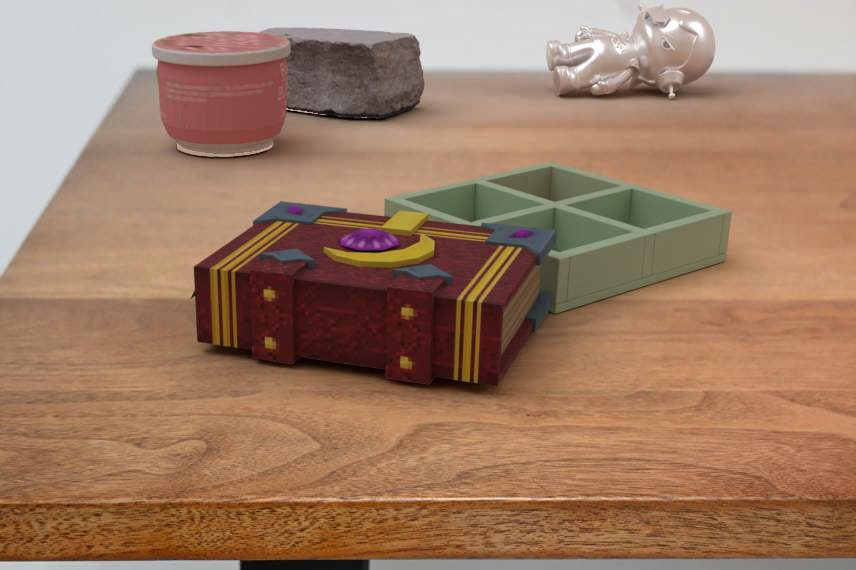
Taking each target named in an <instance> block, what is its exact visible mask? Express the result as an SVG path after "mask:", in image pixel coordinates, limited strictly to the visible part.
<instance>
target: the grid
mask: <svg viewBox="0 0 856 570" xmlns="http://www.w3.org/2000/svg"><path fill="white" fill-rule="evenodd" d="M383 206H384V209H383V210H384V212H383V216H389V217H393V216H394V215H395V214H396V213H398V212H399V211H408V212H418V213H428V214H429V221H437V222H446V223H456V224H465V225H475V226H481V224H482V223H492V224H503V225H513V226H524V227H534V228H545V229H555V230H557V233H556V244H555V245H554V247H553V248H552V249H551V251H550V252H549V254H548V255H547V257H546V258H545V259H544V261H543V262H542V264H541V270H540V285H539V292H540V293H548V294H552V302H551V308H550V310H549V311H548V313H552V314H554V315H556V314H560V313H562V312H563V313H564V312H566V311H570V310H572V309H576V308H579V307H582V306H584V305H588V304H592V303H595V302H597V301H602V300H604V299H607V298H611V297H615V296H617V295H620V294H621V295H622V294H623V293H627V292H630V291H633V290H636V289H640V288H643V287H646V286H649V285H653V284H656V283H659V282H663V281H666V280H669V279H672V278H675V277H679V276H682V275H685V274H688V273H691V272H695V271H698V270H701V269H704V268H707V267H710V266H714V265H717V264H720V263H724V262H726V261H727V254H728V253H727V252H728V246H729V239H730V230H731V222H732V215H733V210H729V209H725V208H722V207H718V206H715V205H711V204H708V203H707V204H706V203H704V202H700V201H696V200H692V199H690V198H685V197H681V196H678V195H674V194H670V193H667V192H663V191H660V190H656V189H653V188H649V187H645V186H642V185H638V184H634V183H630V182H626V181H623V180H619V179H616V178H612V177H608V176H605V175H601V174H597V173H593V172H590V171H588V170H587V171H586V170H582V169H579V168H575V167H572V166H568V165H564V164H560V163H558V162H555V161H550V162H545V163H540V164H535V165H531V166H530V165H529V166H526V167H523V168H522V167H521V168H517V169H512V170H508V171H502V172H499V173H493V174H489V175H484V176H480V177H476V178H471V179H467V180H461V181H458V182H453V183H448V184H444V185H439V186H435V187H430V188H425V189H420V190H416V191H412V192H407V193H402V194H398V195H397V194H396V195H392V196H388V197H384V205H383Z"/></svg>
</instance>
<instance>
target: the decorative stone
mask: <svg viewBox="0 0 856 570" xmlns="http://www.w3.org/2000/svg"><path fill="white" fill-rule="evenodd" d="M258 33H266V34H273V35H278V36H281V37H284V38H286V39H288V40H289V41H290V48H291V52H290V54H289V55H288V56H287V57H285V59H286V64H287V69H288V74H287V106H286V108H288V109H293V110H301V111H307V112H313V113H318V114H329V115H328V116H333V115H336V116H340V117H339V118H343V117H344V118H346V117H351V118H352V117H367V118H376V119H385V118H389V117H392V116H394V115H399V114H401V113H405V112H406V111H409V110H412V109H413V108H416V107H417V106H418V105H419V104H420V103H421V97H422V95H423V93H424V91H425V78H424V70H423V66H422V61H421V58H420V57H421V54H422V52H421V48H420V41H419V40H418V38H417V37H416V36H415V34H413V33H407V32H391V31H381V30H366V29H365V30H364V29H350V28H348V29H346V28H324V27H269V28H265V29H263V30H260V31H259V32H258ZM400 112H401V113H400ZM398 113H399V114H398ZM336 116H335V117H336ZM388 116H389V117H388ZM384 117H385V118H384Z"/></svg>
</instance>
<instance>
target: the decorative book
mask: <svg viewBox="0 0 856 570" xmlns="http://www.w3.org/2000/svg"><path fill="white" fill-rule="evenodd" d="M556 233H557V230H555V229H545V228H534V227H524V226H513V225H503V224H492V223H482V224H481V226H475V225H465V224H456V223H446V222H437V221H429V214H428V213H418V212H408V211H399V212H398V213H396V214H395V215H394V216H393V217H389V216H384V215H379V214H369V213H358V212H349V211H348V208H347V207H346V208H345V207H336V206H329V205H328V206H327V205H319V204H312V203H311V204H310V203H302V202H301V203H300V202H292V201H283V200H280V201H279V202H278V203H275V204H274V205H273V206H272V207H270V208H269V209H268V210H266V211H264V212H263V213H262V214H260V215H259V216H258V217H256V218H255V219H253V220H252V226H250V227H249V228H248V229H246V230H245V231H243V232H241V233H240V234H239V235H237V236H236V237H235V238H233V239H231V240H230V241H229V242H227V243H226V244H224V245H222V246H221V247H220V248H218V249H217V250H216V251H214V252H213V253H211V254H210V255H208V256H207V257H205V258H204V259H202V260H201V261H200V262H199V263H197V264H195V265H194V266H193V278H194V279H193V281H194V282H193V283H194V284H193V285H194V290H193V293H192V294H191V296H190V300H192V299H193V298H194V302H195V303H194V305H195V325H196V342H197V343H201V344H208V345H209V344H210V345H215V346H224V347H230V348H234V349H242V350H248V351H251V357H252V359H253V360H261V361H267V362H273V363H274V362H275V363H281V364H287V365H294V364H295V363H296V362H297V361H298V360H299V359H300V358H303V359H311V360H317V361H324V362H331V363H337V364H343V365H351V366H356V367H357V366H359V367H365V368H371V369H379V370H385V379H388V380H394V381H402V382H407V383H415V384H421V385H427V386H428V385H429V386H430V384H432V382H433V381H434V380H435V378H438V379H439V378H440V379H446V380H451V381H459V382H467V383H474V384H479V385H485V386H486V385H487V386H493V387H498V386H499V385H500V382H501V381H502V379H503V378H504V376H505V374H506V373H507V371H508V370H509V368H510V366H511V365H512V364H513V362H514V360H515V358H516V356H517V355H518V353H519V352H520V350H521V348H522V347H523V345H524V343H525V342H526V340H527V338H528V337H529V335H530V334H531V332H534V333H536V332H537V330H538V329H539V327H540V325H541V324H542V322H543V321H544V319H545V318H546V316H547V315H548V313H549V310H550V308H551V302H552V294H548V293H540V292H539V285H540V270H541V264H542V262H543V261H544V259H545V258H546V257H547V255H548V254H549V252H550V251H551V249H552V248H553V247H554V245H555V244H556Z"/></svg>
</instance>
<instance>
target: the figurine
mask: <svg viewBox="0 0 856 570" xmlns="http://www.w3.org/2000/svg"><path fill="white" fill-rule="evenodd" d="M637 8H638V10H639V11H641V12H640V13H638V15H637V16H636V23H635V24H634V26H633V29H632V33H631V35H629V32H628V31H627V30H626V31H624V32H622V33H620V34H619V33H617V32H613V31H609V30H605V29H599V28H598V27H589V26H586V25H581V26H580V27H579V30H578V31H577V32H576V33H575V34H574V41H573V42H570V43H568V42H564V43H561V42H560V40H559V39H554V40H551V39H549V40H547V41H546V45H545V57H546V63H547V67H548V70H549V71H550V72H553V77H552V78H553V79H552V80H553V86H554V87H553V88H554V91H555V94H556V95H557V96H563V95H564V94H569V93H573V92H577V93H578V92H580V90H583V89H584V90H585V89H589V88H590V90H589V91H590V94H591V95H593V96H596V97H597V96H602V95H609V94H612V93H614V92H616V91H617V90H618V89H619V88H620V87H622V86H623V85H625V84H626V83H627V82H628V84H627V85H626V86H627V87H626V88H627V89H629V90H630V89H632V88H635V87H636V86H638V85H641V84H644V85H646V86H648V87H651V88H652V87H653V88H658V89H659V90H660V91H661V92H662V93H665V94H668V96H667V97H668V99H669V100H674V99H675V98H676V94H675V93H676V92H677V91H678V90H680V89H681V87H682V86H685V85H688V84H691V83H694V82H696V81H697V80H699V79H700V78H702V77H703V76H704V75H705V74H706V73H707V72H708V71H709V69H710V68H711V66H712V65H713V62H714V60H715V56H716V40H715V35H714V31H713V28H712V26H711V24H710V23H709V22H708V21H707V19H706V18H705V17H704V16H703V15H701V14H700V13H699V12H697V11H695V10H693V9H691V8H686V7H669V8H666V9H665V5H664V4H660V5H656V6H654V7H648V8H646V4H644V3H640V4H639V5H638V7H637Z"/></svg>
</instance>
